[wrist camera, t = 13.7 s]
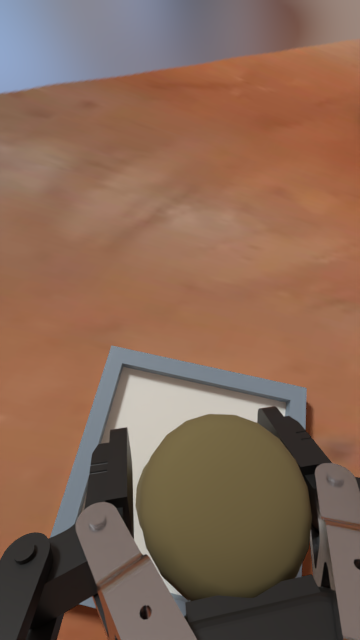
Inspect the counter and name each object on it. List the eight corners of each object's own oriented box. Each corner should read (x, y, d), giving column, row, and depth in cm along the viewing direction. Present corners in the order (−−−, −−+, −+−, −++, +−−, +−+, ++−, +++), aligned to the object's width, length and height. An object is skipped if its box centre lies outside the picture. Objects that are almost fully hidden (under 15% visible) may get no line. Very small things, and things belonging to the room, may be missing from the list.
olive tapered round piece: (262, 497, 18) (389, 503, 9) (189, 594, 16) (251, 746, 6) (189, 419, 20) (227, 351, 10) (112, 495, 18) (71, 499, 8)
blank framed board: (40, 584, 16) (32, 593, 15) (113, 352, 22) (111, 345, 21) (288, 642, 16) (299, 656, 15) (298, 392, 22) (306, 388, 21)
